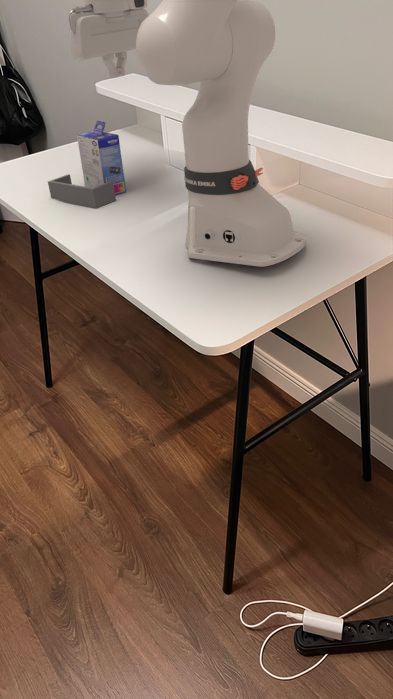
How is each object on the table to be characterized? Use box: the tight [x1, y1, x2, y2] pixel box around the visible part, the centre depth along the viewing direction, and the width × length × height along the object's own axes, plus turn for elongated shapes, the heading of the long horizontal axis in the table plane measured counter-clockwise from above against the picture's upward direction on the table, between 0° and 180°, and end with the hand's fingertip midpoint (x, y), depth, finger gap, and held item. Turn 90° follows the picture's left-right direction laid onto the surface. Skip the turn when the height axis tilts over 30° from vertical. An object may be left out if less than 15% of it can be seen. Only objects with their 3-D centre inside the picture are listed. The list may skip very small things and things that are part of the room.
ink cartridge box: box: [76, 120, 127, 196], centre depth 134 cm, size 10×6×14 cm, turn 37°
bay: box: [47, 173, 117, 209], centre depth 132 cm, size 14×6×4 cm, turn 50°
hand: (117, 76), depth 132 cm, fingers closed
